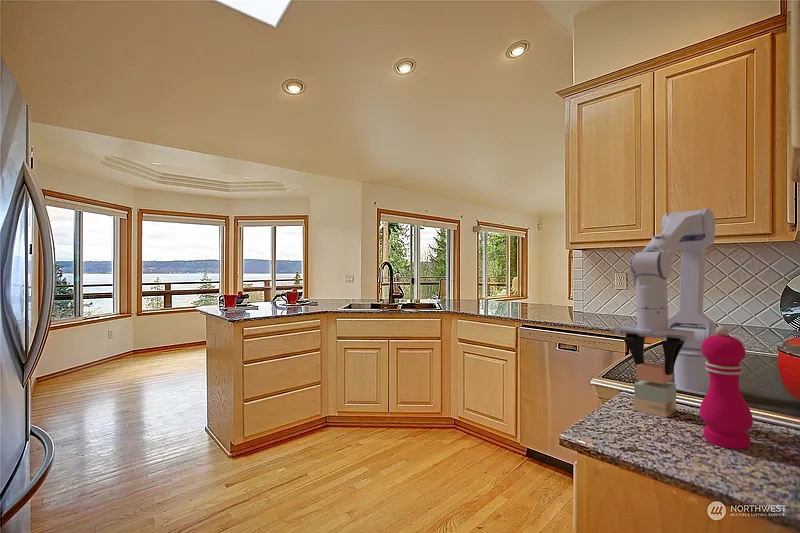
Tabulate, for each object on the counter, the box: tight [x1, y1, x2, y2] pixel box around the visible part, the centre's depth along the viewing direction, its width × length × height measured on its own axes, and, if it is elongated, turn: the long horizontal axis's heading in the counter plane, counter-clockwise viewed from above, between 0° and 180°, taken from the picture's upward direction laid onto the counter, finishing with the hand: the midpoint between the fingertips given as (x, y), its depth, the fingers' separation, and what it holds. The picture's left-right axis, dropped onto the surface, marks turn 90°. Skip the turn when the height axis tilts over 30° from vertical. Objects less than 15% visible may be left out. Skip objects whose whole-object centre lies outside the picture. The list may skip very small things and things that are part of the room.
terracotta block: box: [635, 361, 673, 384], centre depth 86 cm, size 5×5×3 cm
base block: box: [632, 396, 677, 418], centre depth 86 cm, size 6×6×3 cm
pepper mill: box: [699, 325, 754, 450], centre depth 70 cm, size 7×7×20 cm
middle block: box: [633, 380, 677, 404], centre depth 86 cm, size 6×6×3 cm
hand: (654, 371), depth 86 cm, fingers closed on terracotta block, 5 cm apart
